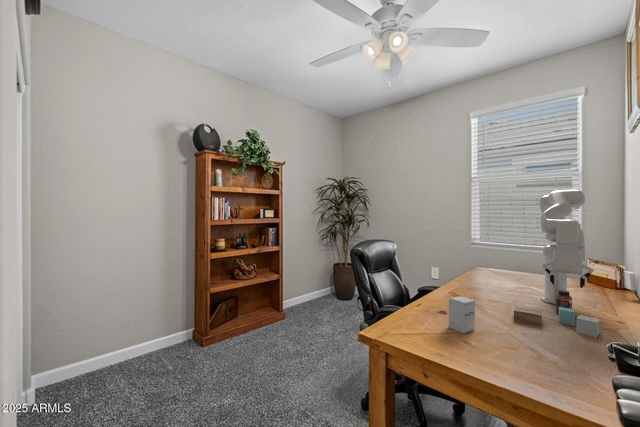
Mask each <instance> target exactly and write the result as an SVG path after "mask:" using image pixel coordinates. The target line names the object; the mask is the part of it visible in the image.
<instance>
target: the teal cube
mask: <svg viewBox="0 0 640 427" xmlns="http://www.w3.org/2000/svg"><path fill="white" fill-rule="evenodd" d="M575 317H576V314H575V310H574V309H573V308H572V309H569V308H563V307H559V314H558V322H559V324H563V325H569V326H573V327H574V326H576V324H575Z"/></svg>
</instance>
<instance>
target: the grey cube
mask: <svg viewBox="0 0 640 427" xmlns="http://www.w3.org/2000/svg"><path fill="white" fill-rule="evenodd" d="M575 326H576V327H575V328H576V330H575V331H576V333H578V334H581V335H584V336H585V335H586V336H590V337H594V338H597V337H598V336H599V335H600V318H596V317H591V316H585V315H583V314H579V315H577V317H576V324H575Z"/></svg>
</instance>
